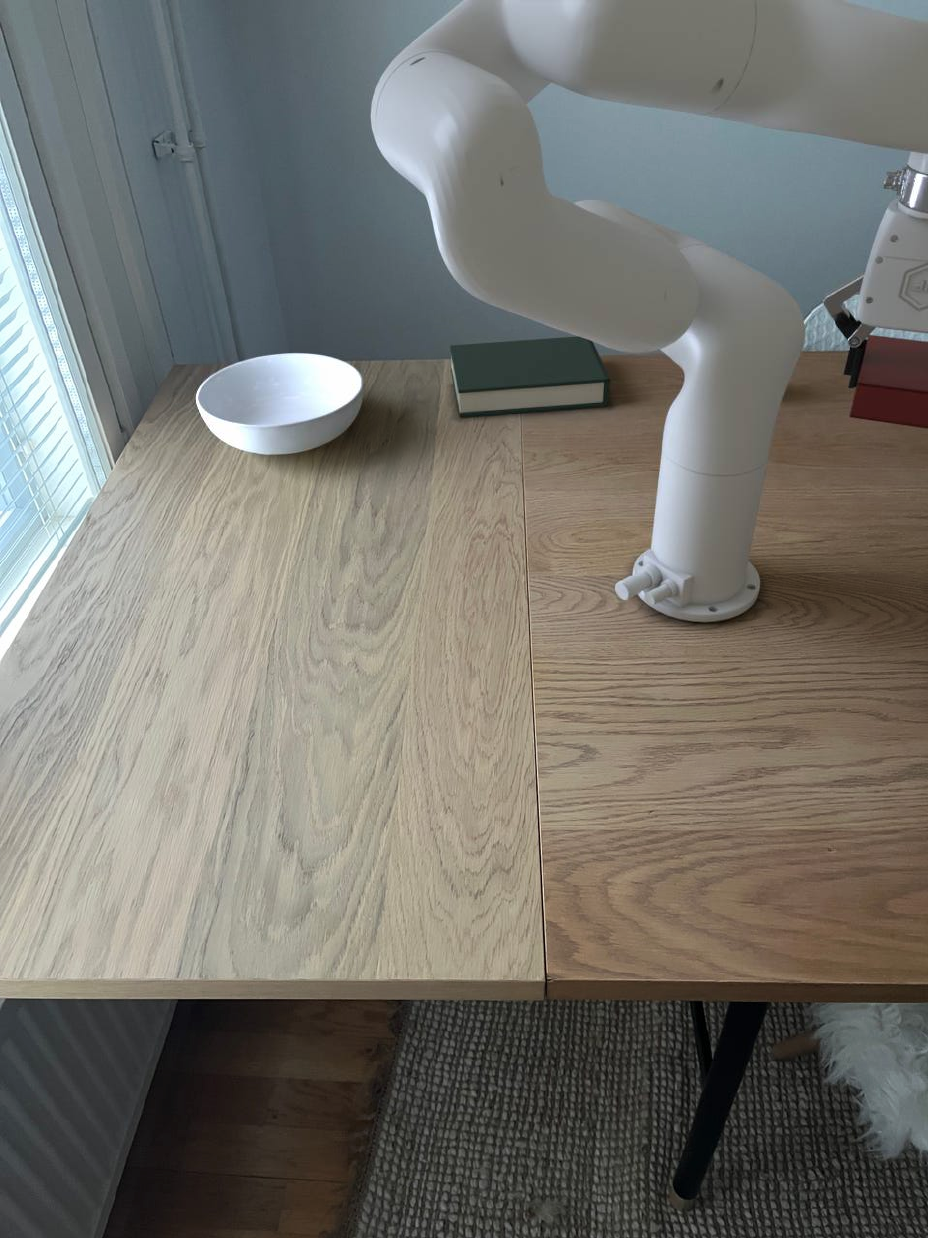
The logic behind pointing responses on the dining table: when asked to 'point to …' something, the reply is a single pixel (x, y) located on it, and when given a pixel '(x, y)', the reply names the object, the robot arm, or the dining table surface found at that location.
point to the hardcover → (528, 376)
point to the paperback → (893, 382)
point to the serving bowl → (281, 402)
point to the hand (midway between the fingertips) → (895, 386)
